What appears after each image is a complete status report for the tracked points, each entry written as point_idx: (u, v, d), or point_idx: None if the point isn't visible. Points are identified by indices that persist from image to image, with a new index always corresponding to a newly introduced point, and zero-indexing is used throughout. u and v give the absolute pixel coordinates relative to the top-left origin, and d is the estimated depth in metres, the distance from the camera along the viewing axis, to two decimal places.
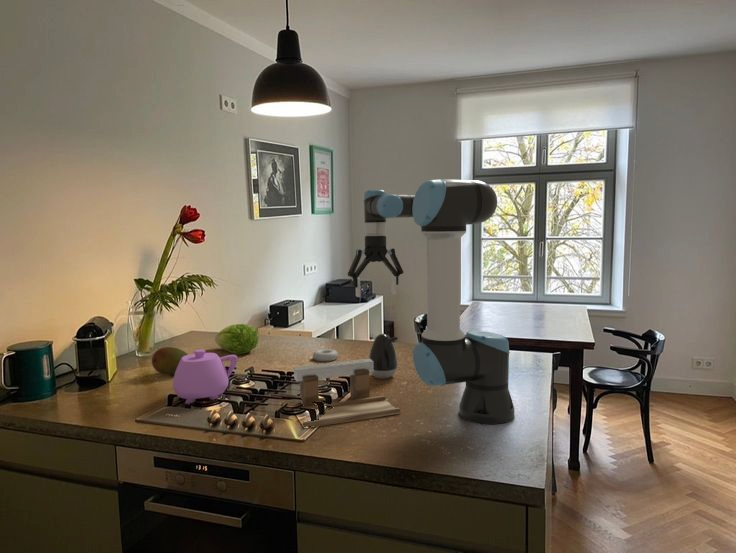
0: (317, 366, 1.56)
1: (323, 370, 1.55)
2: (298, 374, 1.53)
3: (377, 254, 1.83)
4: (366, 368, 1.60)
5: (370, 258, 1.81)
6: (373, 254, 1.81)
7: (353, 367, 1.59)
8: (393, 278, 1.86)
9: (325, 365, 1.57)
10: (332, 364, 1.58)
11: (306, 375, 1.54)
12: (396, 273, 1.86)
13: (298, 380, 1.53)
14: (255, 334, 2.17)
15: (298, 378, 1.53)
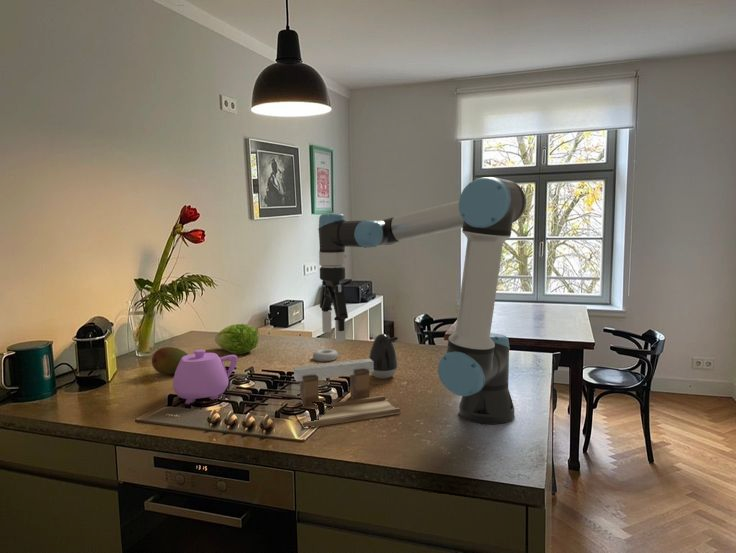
0: (317, 366, 1.56)
1: (323, 370, 1.55)
2: (298, 374, 1.53)
3: None
4: (366, 368, 1.60)
5: (324, 292, 1.58)
6: (324, 288, 1.57)
7: (353, 367, 1.59)
8: None
9: (325, 365, 1.57)
10: (332, 364, 1.58)
11: (306, 375, 1.54)
12: (336, 316, 1.49)
13: (298, 380, 1.53)
14: (255, 334, 2.17)
15: (298, 378, 1.53)
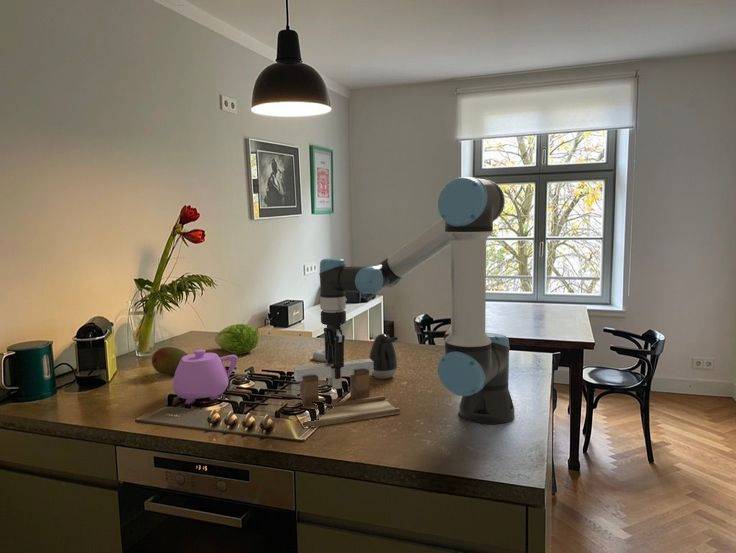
0: (317, 366, 1.56)
1: (323, 370, 1.55)
2: (298, 374, 1.53)
3: (330, 331, 1.57)
4: (366, 368, 1.60)
5: (326, 337, 1.58)
6: (326, 332, 1.58)
7: (353, 367, 1.59)
8: None
9: (325, 365, 1.57)
10: (332, 364, 1.58)
11: (306, 375, 1.54)
12: (333, 364, 1.55)
13: (298, 380, 1.53)
14: (255, 334, 2.17)
15: (298, 378, 1.53)
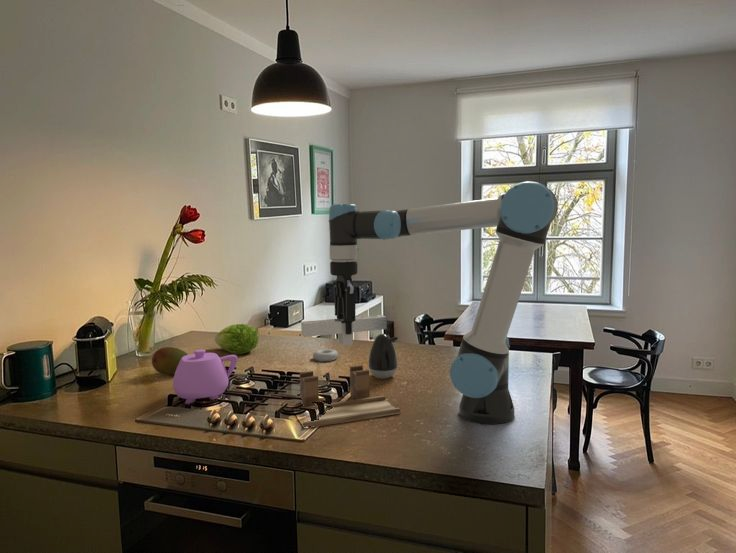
0: (326, 321, 1.44)
1: (332, 325, 1.44)
2: (306, 328, 1.41)
3: None
4: (379, 324, 1.49)
5: (336, 290, 1.47)
6: (335, 284, 1.46)
7: (364, 323, 1.47)
8: None
9: (335, 320, 1.45)
10: (342, 319, 1.46)
11: (314, 330, 1.42)
12: (343, 319, 1.43)
13: (306, 335, 1.41)
14: (255, 334, 2.17)
15: (306, 333, 1.41)
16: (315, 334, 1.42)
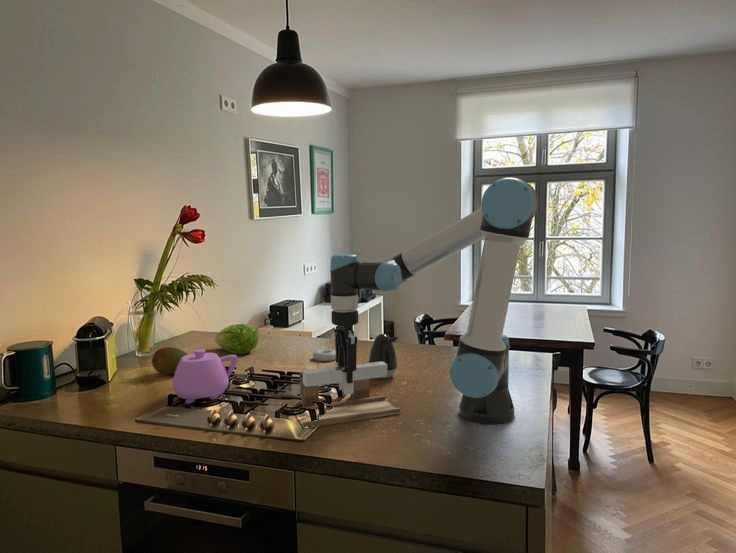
0: (327, 370, 1.46)
1: (333, 374, 1.45)
2: (307, 378, 1.42)
3: (341, 332, 1.46)
4: (379, 372, 1.50)
5: (337, 338, 1.48)
6: (337, 333, 1.48)
7: (365, 371, 1.48)
8: None
9: (336, 369, 1.47)
10: (343, 367, 1.48)
11: (316, 379, 1.43)
12: (344, 368, 1.45)
13: (307, 385, 1.43)
14: (255, 334, 2.17)
15: (307, 383, 1.43)
16: (316, 383, 1.43)
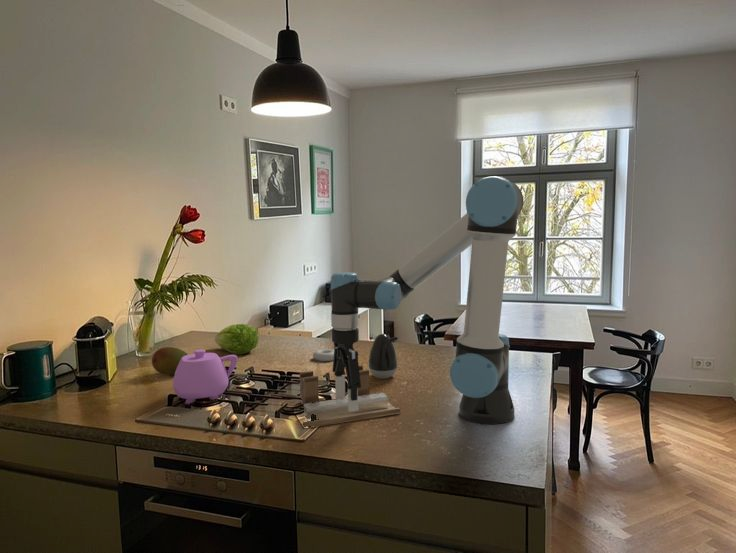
0: (328, 403, 1.47)
1: (334, 407, 1.46)
2: (308, 412, 1.43)
3: None
4: (380, 404, 1.51)
5: (337, 354, 1.49)
6: (337, 350, 1.48)
7: (366, 403, 1.49)
8: None
9: (337, 401, 1.48)
10: (344, 400, 1.49)
11: (317, 413, 1.44)
12: (349, 385, 1.42)
13: (308, 418, 1.44)
14: (255, 334, 2.17)
15: (308, 416, 1.44)
16: (317, 417, 1.45)
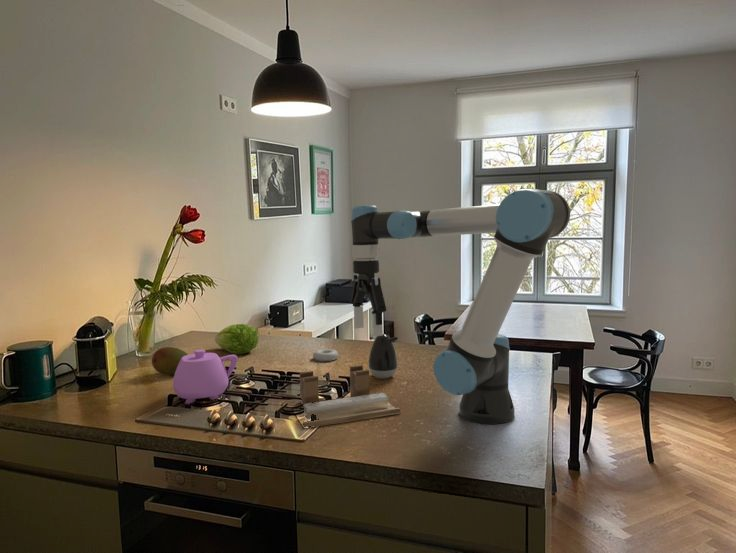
0: (328, 403, 1.47)
1: (334, 407, 1.46)
2: (308, 412, 1.43)
3: None
4: (380, 404, 1.51)
5: (357, 286, 1.54)
6: (358, 282, 1.53)
7: (366, 403, 1.49)
8: None
9: (337, 401, 1.48)
10: (344, 400, 1.49)
11: (317, 413, 1.44)
12: (374, 310, 1.46)
13: (308, 418, 1.44)
14: (255, 334, 2.17)
15: (308, 416, 1.44)
16: (317, 417, 1.45)
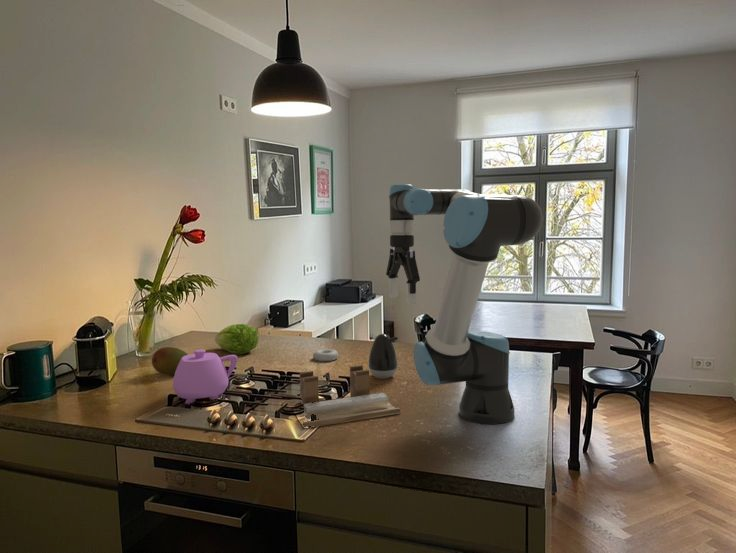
0: (328, 403, 1.47)
1: (334, 407, 1.46)
2: (308, 412, 1.43)
3: None
4: (380, 404, 1.51)
5: (393, 259, 1.68)
6: (394, 255, 1.67)
7: (366, 403, 1.49)
8: None
9: (337, 401, 1.48)
10: (344, 400, 1.49)
11: (317, 413, 1.44)
12: (408, 280, 1.60)
13: (308, 418, 1.44)
14: (255, 334, 2.17)
15: (308, 416, 1.44)
16: (317, 417, 1.45)
